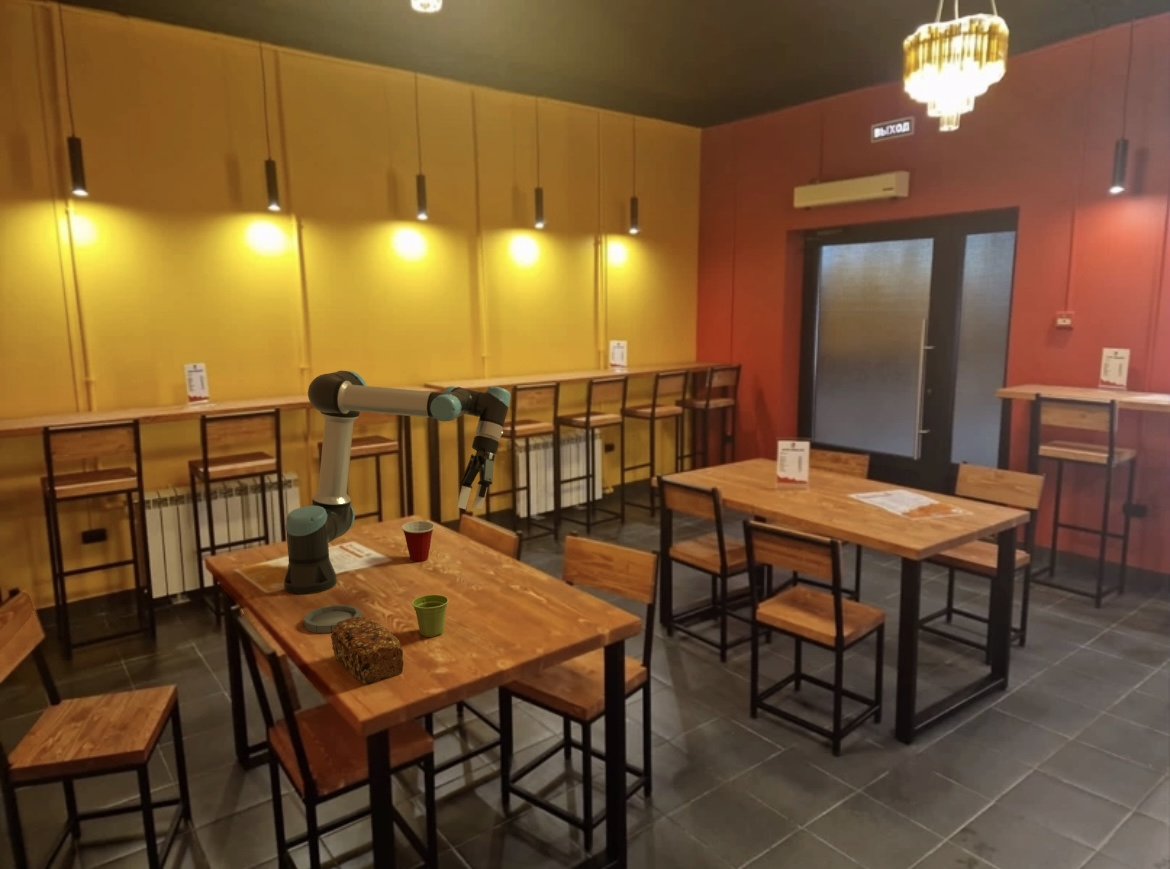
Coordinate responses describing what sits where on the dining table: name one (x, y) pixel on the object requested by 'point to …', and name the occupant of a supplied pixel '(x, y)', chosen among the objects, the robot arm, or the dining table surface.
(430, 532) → the plastic cup
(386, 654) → the bread
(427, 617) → the plant pot
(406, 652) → the dining table surface
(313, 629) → the saucer
